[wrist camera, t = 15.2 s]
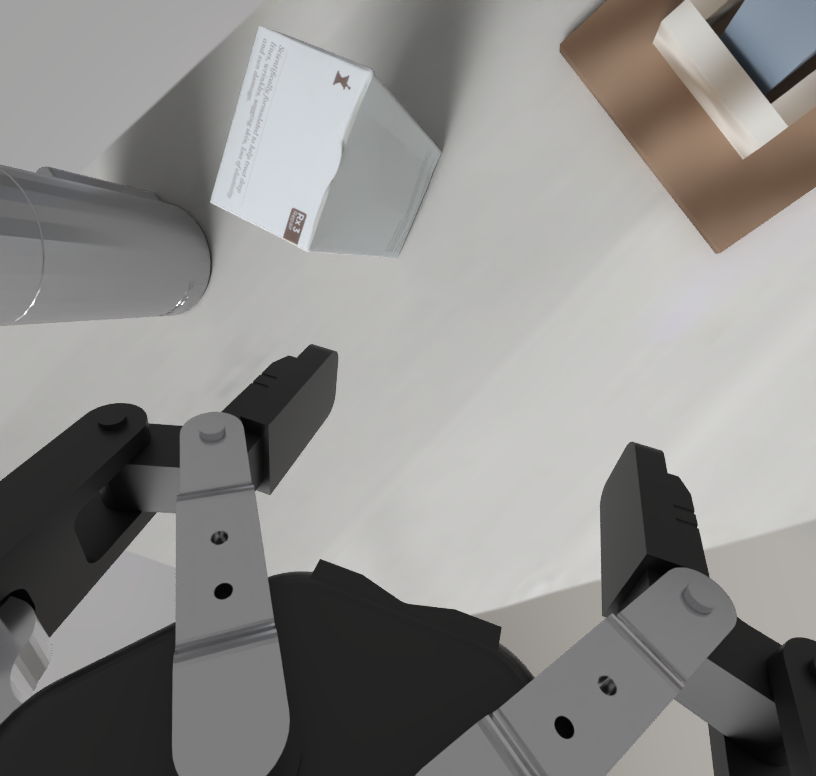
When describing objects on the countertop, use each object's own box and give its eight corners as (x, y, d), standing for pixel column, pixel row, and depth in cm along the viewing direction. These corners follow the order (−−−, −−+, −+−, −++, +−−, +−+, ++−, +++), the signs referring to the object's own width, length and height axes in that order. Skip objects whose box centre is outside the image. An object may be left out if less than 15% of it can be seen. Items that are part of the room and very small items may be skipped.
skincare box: (373, 120, 35) (254, 6, 21) (448, 153, 34) (376, 57, 20) (330, 233, 37) (197, 199, 23) (399, 267, 36) (304, 253, 22)
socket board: (559, 51, 31) (560, 23, 28) (820, -193, 26) (859, -264, 23) (715, 253, 31) (735, 248, 28) (1011, 48, 26) (1080, 12, 22)
